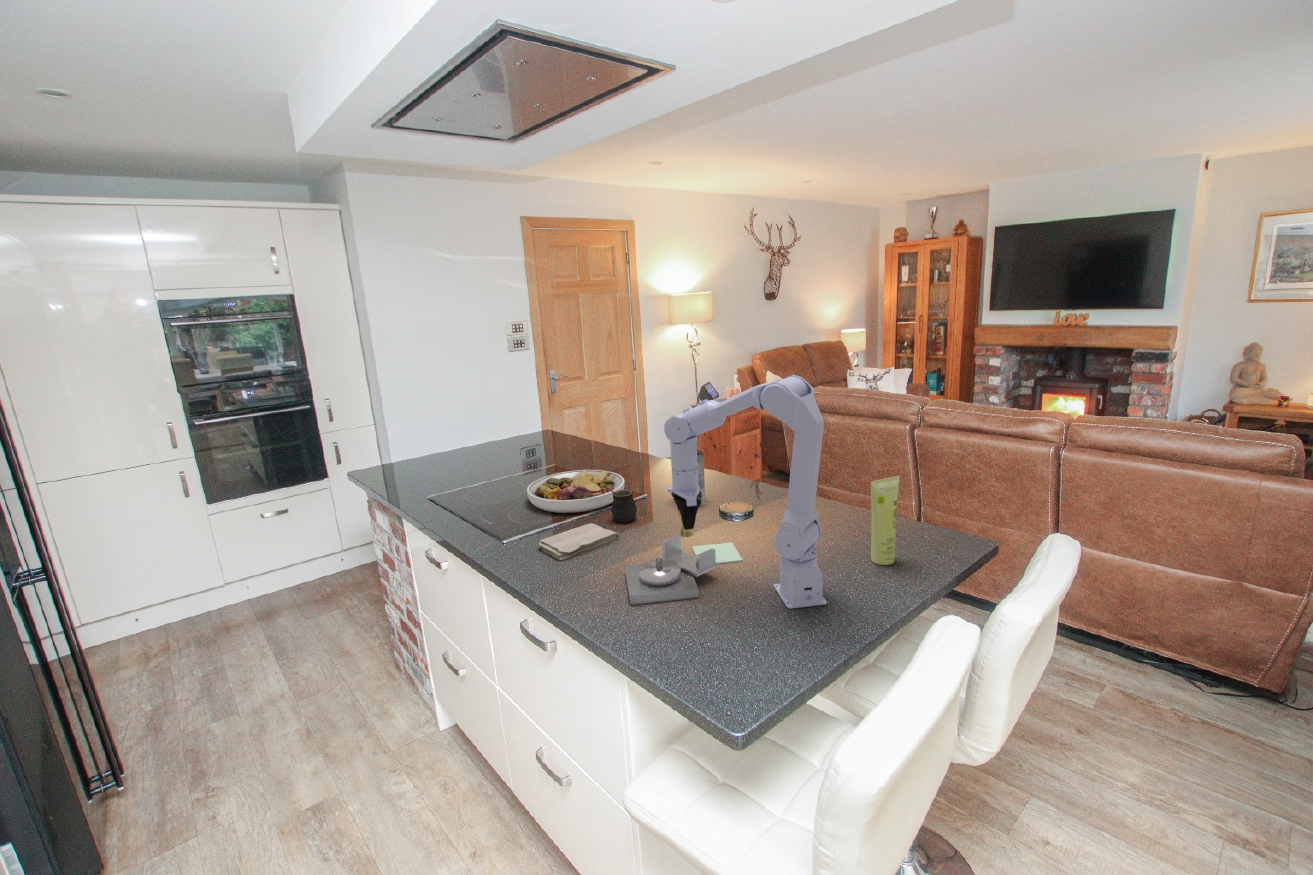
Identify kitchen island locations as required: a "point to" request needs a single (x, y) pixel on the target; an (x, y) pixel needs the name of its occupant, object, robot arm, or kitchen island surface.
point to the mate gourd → (623, 506)
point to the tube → (884, 519)
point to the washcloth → (577, 541)
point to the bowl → (575, 490)
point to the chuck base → (659, 588)
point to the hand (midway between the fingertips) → (687, 525)
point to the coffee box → (701, 477)
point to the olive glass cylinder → (682, 531)
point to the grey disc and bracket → (675, 564)
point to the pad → (720, 552)
